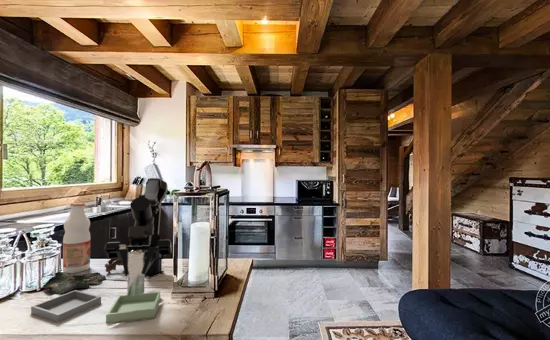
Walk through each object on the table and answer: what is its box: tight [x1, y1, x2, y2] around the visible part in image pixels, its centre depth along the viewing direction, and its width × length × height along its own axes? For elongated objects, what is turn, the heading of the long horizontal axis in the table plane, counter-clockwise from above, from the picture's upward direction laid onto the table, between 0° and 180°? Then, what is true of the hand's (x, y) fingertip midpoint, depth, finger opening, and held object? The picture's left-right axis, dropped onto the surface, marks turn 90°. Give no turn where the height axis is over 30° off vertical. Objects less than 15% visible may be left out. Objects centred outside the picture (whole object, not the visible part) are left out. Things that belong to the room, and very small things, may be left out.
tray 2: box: [105, 291, 161, 324], centre depth 83 cm, size 12×12×3 cm
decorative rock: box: [43, 271, 107, 296], centre depth 101 cm, size 19×6×15 cm
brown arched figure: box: [104, 258, 124, 274], centre depth 116 cm, size 12×10×8 cm
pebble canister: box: [126, 249, 146, 296], centre depth 83 cm, size 5×5×13 cm
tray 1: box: [30, 289, 102, 324], centre depth 83 cm, size 12×12×3 cm
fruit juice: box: [62, 202, 91, 274], centre depth 117 cm, size 9×9×28 cm
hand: (135, 274), depth 82 cm, fingers closed on pebble canister, 5 cm apart
